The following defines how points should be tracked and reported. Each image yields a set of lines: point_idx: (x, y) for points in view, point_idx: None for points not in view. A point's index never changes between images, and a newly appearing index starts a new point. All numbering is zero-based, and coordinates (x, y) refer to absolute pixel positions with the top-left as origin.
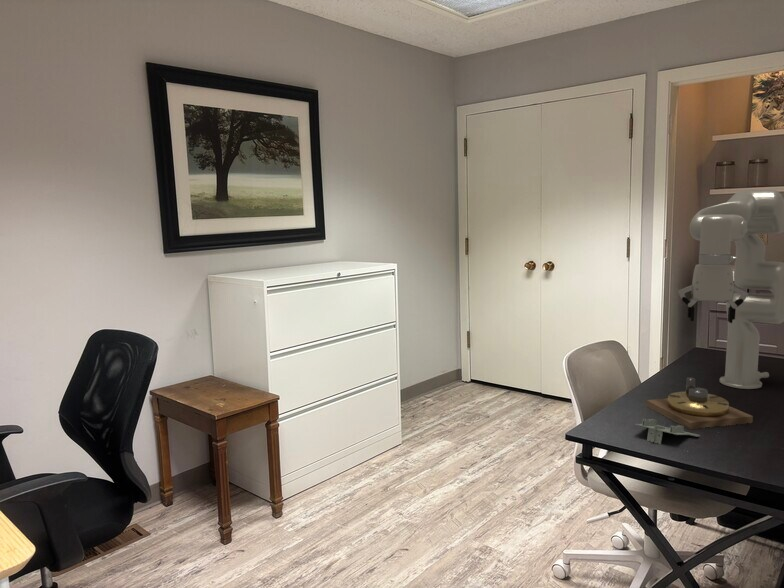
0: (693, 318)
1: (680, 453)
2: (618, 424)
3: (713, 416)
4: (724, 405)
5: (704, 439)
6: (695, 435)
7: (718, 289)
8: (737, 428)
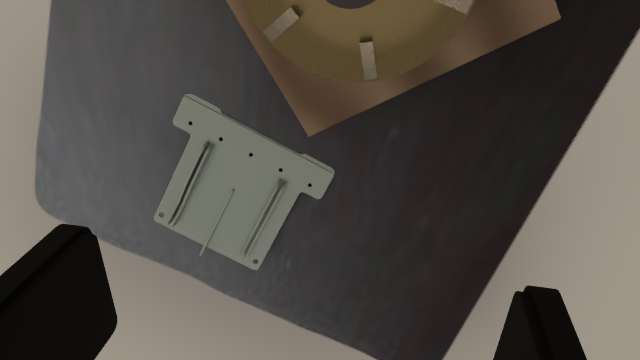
0: (100, 347)
1: (273, 277)
2: (117, 121)
3: None
4: (452, 21)
5: (341, 193)
6: (316, 196)
7: None
8: (469, 85)
